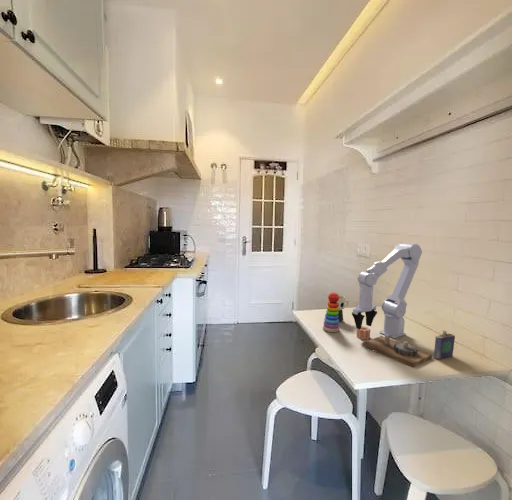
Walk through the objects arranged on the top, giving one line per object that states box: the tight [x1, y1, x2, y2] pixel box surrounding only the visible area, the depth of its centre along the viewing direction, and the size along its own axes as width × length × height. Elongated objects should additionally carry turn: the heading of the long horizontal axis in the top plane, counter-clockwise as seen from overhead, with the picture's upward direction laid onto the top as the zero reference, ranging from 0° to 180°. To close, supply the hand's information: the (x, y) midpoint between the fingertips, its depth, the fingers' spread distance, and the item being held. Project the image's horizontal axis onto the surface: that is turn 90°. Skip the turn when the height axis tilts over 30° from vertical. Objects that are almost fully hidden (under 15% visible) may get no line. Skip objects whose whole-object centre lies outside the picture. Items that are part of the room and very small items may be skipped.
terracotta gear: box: [356, 325, 371, 340], centre depth 139 cm, size 6×6×4 cm
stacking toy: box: [322, 292, 340, 333], centre depth 147 cm, size 8×8×19 cm
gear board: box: [361, 335, 433, 368], centre depth 124 cm, size 14×22×6 cm, turn 35°
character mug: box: [327, 294, 349, 322], centre depth 161 cm, size 11×7×13 cm, turn 88°
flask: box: [433, 330, 456, 360], centre depth 120 cm, size 9×3×11 cm, turn 109°
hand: (363, 327), depth 139 cm, fingers open, 7 cm apart
